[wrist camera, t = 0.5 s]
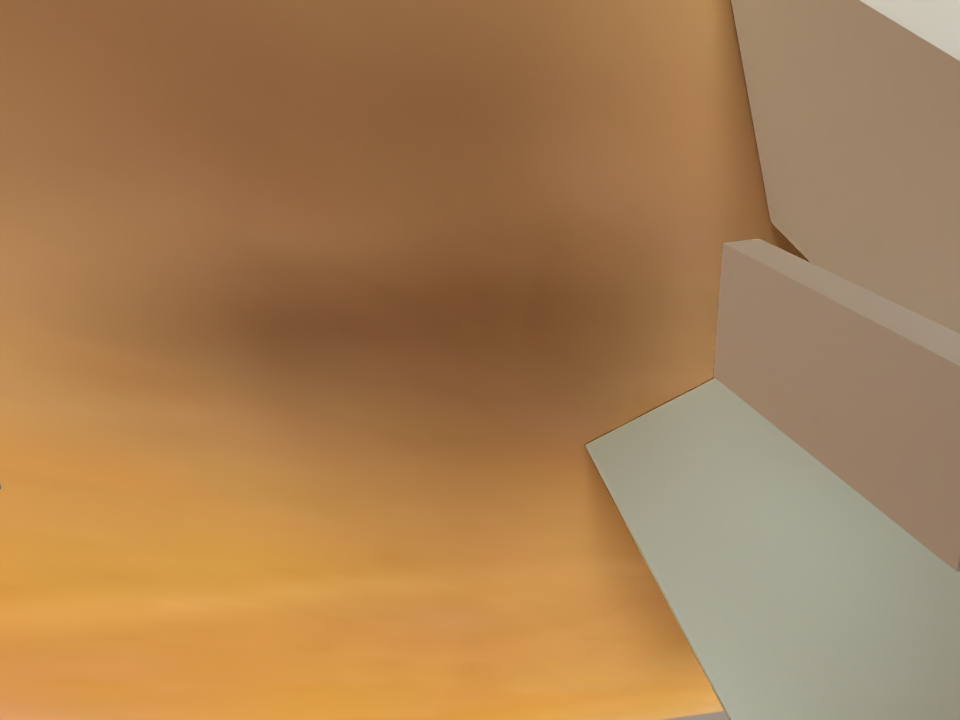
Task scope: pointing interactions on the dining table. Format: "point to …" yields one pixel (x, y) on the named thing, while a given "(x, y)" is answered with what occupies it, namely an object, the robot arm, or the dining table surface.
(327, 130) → the dining table surface
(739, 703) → the grey-green rectangular block
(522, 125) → the dining table surface
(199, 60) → the dining table surface
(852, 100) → the taupe rectangular block
